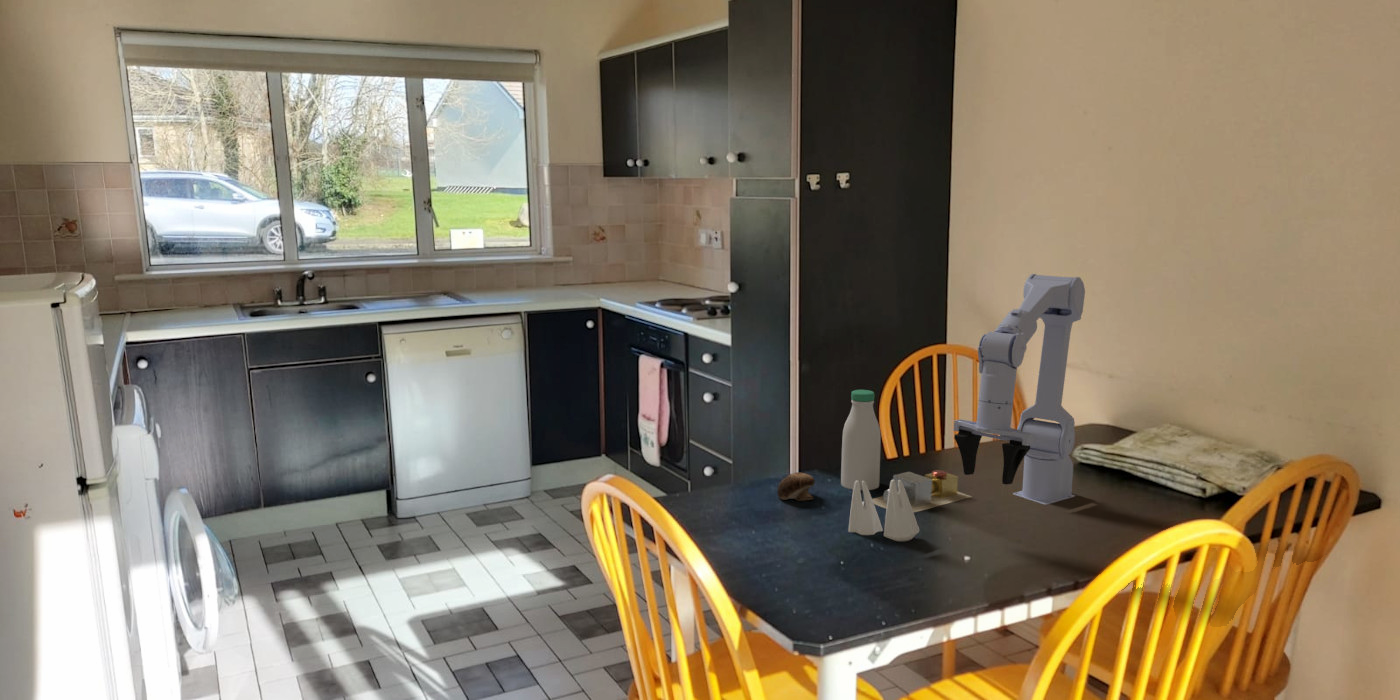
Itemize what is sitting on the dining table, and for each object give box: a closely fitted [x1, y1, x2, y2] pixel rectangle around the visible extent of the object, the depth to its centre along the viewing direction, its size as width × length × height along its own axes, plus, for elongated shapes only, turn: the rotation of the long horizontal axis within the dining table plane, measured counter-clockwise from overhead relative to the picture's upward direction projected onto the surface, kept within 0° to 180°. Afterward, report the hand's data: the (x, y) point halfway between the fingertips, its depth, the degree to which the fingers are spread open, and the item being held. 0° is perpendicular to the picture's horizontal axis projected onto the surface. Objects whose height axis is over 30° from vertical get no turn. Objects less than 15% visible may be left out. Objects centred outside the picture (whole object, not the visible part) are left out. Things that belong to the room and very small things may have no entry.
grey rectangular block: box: [882, 471, 932, 507], centre depth 188 cm, size 8×6×5 cm
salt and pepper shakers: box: [848, 479, 920, 542], centre depth 171 cm, size 12×4×11 cm, turn 59°
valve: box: [924, 469, 959, 498], centre depth 193 cm, size 8×4×4 cm, turn 124°
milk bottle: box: [840, 389, 882, 491], centre depth 198 cm, size 8×8×20 cm
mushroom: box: [777, 472, 816, 502], centre depth 191 cm, size 8×8×6 cm
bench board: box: [872, 491, 973, 514], centre depth 191 cm, size 19×10×1 cm, turn 124°
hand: (987, 478), depth 170 cm, fingers open, 7 cm apart
